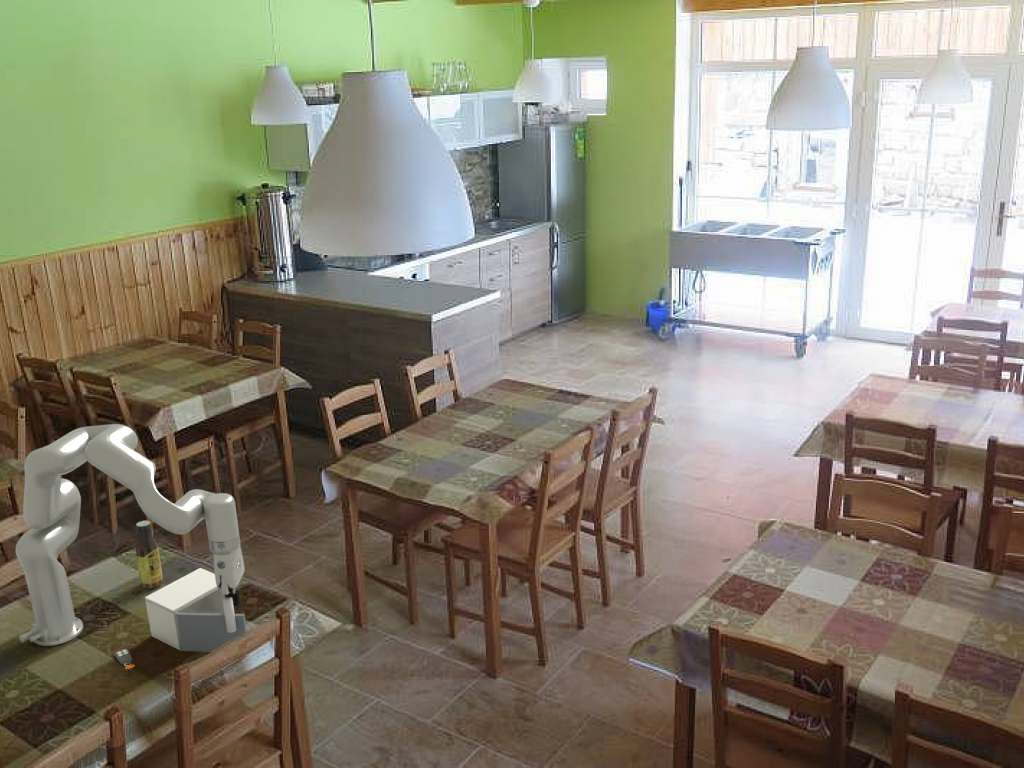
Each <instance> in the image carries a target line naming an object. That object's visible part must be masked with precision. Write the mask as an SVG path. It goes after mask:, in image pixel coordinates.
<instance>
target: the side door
mask: <svg viewBox="0 0 1024 768" xmlns="http://www.w3.org/2000/svg"><path fill="white" fill-rule="evenodd" d="M223 607H224V613H185V612H175V613H174V619H175V625H176V631H177V637H178V643H179V649H180V650H179V649H178V650H179V651H180V652H210V651H212V650H214V649H217V648H218V647H220V646H222V645H223V644H225V643H226V642H228V641H230V640H233V639H234V638H236V637H238V636H241V635H243V634H245V633H247V634H248V629H247V622H246V615H245V613H235V608H234V607H235V606H233V600H232V598H231V597H226V598H224V599H223Z"/></svg>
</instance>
